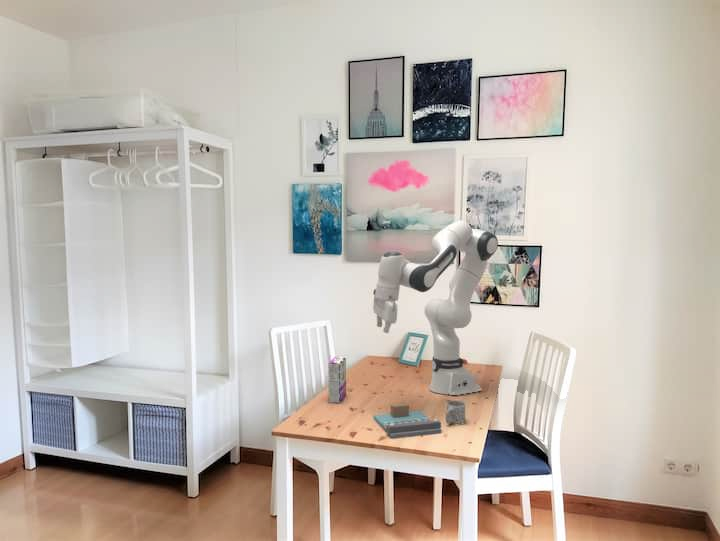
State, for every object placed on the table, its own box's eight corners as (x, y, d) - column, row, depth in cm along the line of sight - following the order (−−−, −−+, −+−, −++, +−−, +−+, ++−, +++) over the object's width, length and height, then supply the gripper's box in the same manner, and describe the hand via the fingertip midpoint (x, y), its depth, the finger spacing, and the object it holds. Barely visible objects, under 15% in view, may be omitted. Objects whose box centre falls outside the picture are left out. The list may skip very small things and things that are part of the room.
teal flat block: (419, 413, 201) (419, 400, 200) (429, 422, 192) (429, 408, 192) (373, 418, 196) (373, 404, 195) (381, 427, 187) (381, 412, 187)
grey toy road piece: (430, 422, 192) (430, 412, 192) (442, 432, 182) (442, 421, 182) (380, 427, 187) (380, 417, 186) (389, 438, 177) (390, 427, 177)
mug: (452, 416, 198) (452, 399, 198) (468, 421, 194) (468, 403, 194) (438, 424, 191) (438, 406, 190) (454, 428, 186) (454, 410, 186)
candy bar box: (334, 394, 224) (334, 356, 223) (346, 395, 223) (346, 356, 222) (327, 403, 213) (328, 362, 212) (340, 403, 212) (340, 363, 211)
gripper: (403, 300, 195) (398, 337, 196) (387, 290, 215) (383, 324, 216) (387, 298, 193) (382, 335, 195) (372, 289, 213) (368, 323, 215)
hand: (382, 329), depth 206 cm, fingers open, 8 cm apart
